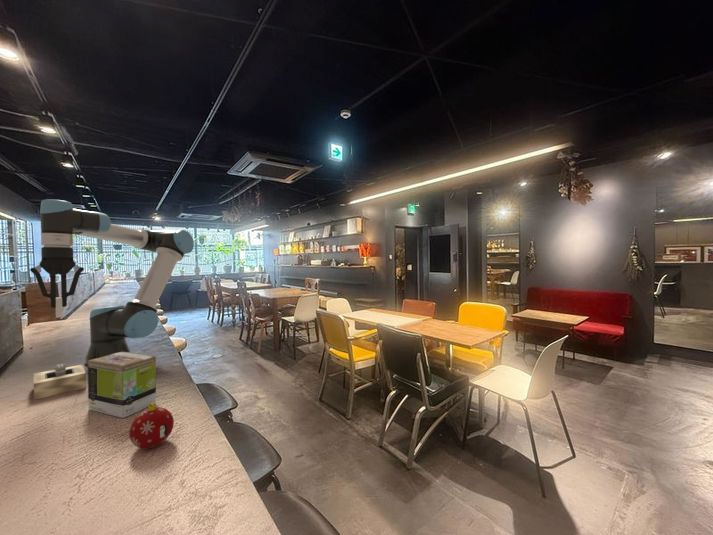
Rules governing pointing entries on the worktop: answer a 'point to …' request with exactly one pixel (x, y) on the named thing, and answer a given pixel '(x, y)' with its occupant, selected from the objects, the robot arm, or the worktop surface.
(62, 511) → the worktop surface
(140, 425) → the christmas ornament
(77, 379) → the socket block
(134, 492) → the worktop surface
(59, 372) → the rook chess piece
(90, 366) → the tea box
